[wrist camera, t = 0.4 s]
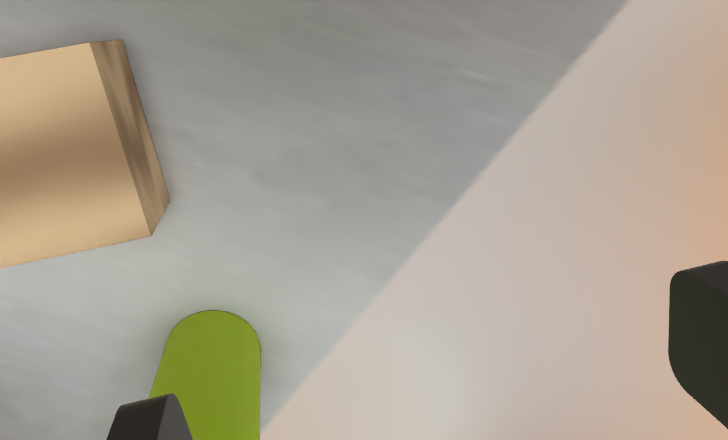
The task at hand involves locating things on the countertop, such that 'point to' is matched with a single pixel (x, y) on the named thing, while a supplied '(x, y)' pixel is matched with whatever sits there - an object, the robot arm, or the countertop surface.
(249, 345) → the soap dispenser
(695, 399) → the robot arm
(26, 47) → the countertop surface
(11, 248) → the oak block
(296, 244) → the countertop surface
